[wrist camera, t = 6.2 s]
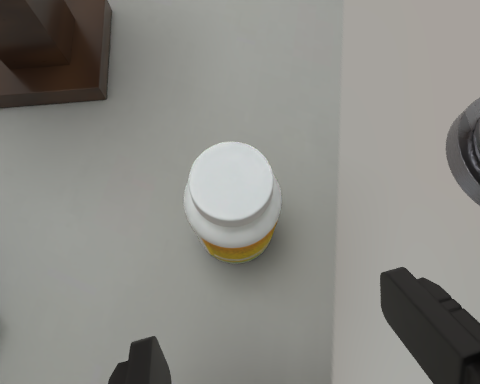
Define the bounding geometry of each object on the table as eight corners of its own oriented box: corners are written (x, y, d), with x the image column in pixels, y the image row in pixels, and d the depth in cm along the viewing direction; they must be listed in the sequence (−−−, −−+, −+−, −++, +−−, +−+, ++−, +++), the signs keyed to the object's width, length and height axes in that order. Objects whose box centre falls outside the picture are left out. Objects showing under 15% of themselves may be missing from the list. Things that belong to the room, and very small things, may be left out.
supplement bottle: (184, 224, 25) (149, 172, 16) (240, 179, 26) (236, 107, 17) (231, 281, 24) (222, 260, 15) (288, 232, 25) (312, 183, 16)
